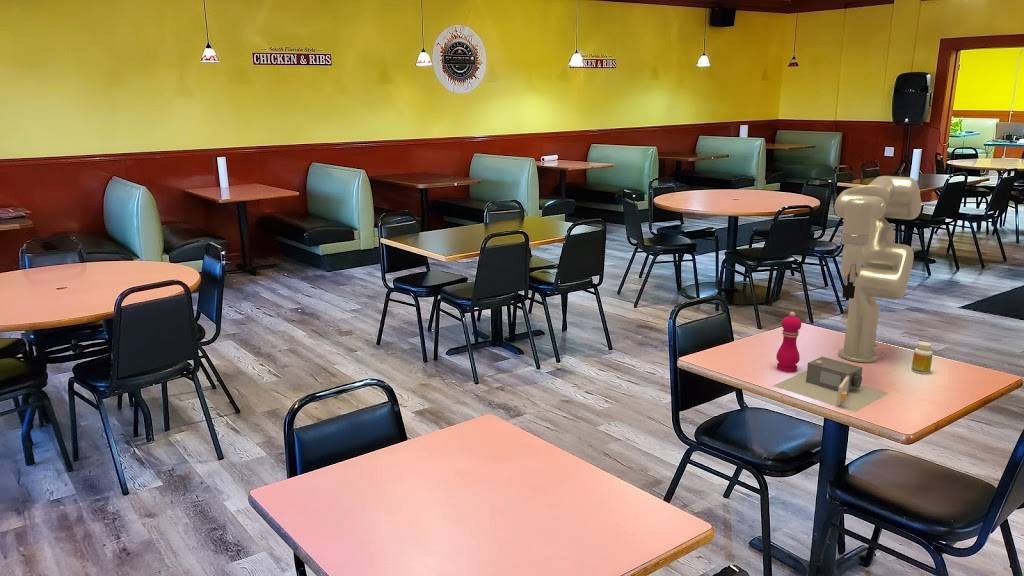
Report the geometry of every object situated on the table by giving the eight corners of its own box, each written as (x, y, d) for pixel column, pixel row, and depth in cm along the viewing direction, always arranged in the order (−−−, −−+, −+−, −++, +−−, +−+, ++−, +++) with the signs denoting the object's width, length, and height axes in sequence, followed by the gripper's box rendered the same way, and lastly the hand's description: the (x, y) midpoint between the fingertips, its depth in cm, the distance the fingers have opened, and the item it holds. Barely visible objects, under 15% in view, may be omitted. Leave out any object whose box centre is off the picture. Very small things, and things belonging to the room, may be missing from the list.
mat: (808, 370, 250) (808, 369, 250) (888, 394, 231) (889, 392, 231) (772, 386, 236) (772, 385, 236) (854, 413, 217) (854, 411, 217)
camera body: (820, 375, 245) (822, 354, 243) (864, 388, 235) (867, 366, 233) (805, 382, 239) (807, 360, 237) (850, 395, 229) (853, 373, 227)
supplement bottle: (925, 375, 247) (930, 347, 244) (908, 371, 250) (912, 343, 248) (932, 371, 250) (936, 343, 248) (915, 367, 254) (919, 339, 251)
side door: (835, 405, 221) (838, 386, 219) (843, 393, 230) (846, 374, 228) (844, 407, 220) (846, 387, 218) (852, 395, 228) (854, 376, 227)
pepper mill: (801, 374, 247) (807, 315, 242) (779, 373, 247) (785, 314, 242) (793, 366, 254) (800, 308, 249) (772, 366, 254) (777, 308, 249)
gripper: (840, 234, 239) (833, 290, 244) (843, 242, 226) (836, 302, 230) (866, 236, 237) (859, 292, 242) (871, 244, 223) (863, 304, 228)
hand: (848, 297), depth 236 cm, fingers closed
